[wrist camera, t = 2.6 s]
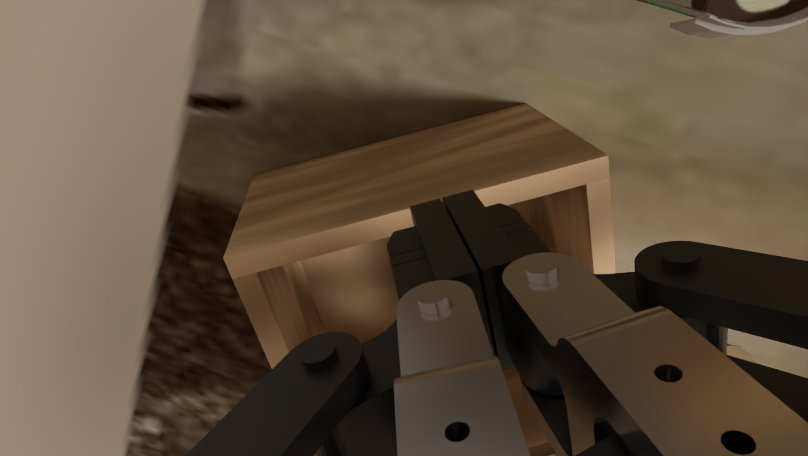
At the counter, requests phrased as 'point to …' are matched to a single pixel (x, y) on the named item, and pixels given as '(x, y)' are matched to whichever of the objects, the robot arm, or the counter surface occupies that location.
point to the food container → (735, 16)
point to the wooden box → (407, 223)
